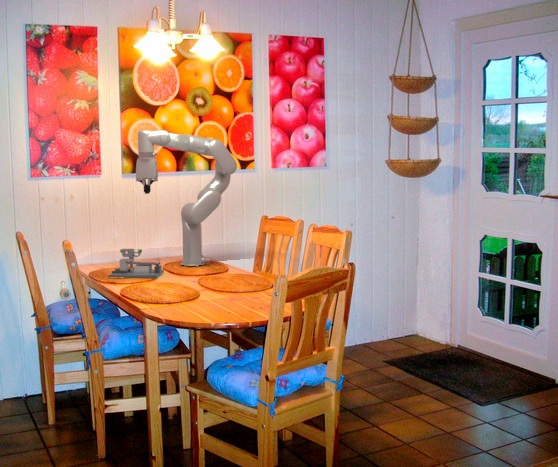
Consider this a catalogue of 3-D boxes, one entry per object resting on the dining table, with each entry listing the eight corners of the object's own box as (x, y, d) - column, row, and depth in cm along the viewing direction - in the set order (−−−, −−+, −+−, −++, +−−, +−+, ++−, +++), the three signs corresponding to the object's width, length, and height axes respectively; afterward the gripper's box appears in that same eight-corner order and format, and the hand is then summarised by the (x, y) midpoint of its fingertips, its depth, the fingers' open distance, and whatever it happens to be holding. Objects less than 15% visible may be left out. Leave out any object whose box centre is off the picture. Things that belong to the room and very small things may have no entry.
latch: (133, 271, 324) (133, 258, 324) (131, 272, 320) (131, 259, 320) (122, 270, 325) (122, 258, 324) (120, 272, 321) (119, 259, 320)
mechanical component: (141, 269, 338) (140, 249, 337) (120, 269, 338) (119, 249, 337) (142, 268, 341) (142, 248, 340) (122, 268, 341) (121, 248, 340)
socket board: (164, 272, 330) (164, 263, 329) (156, 278, 314) (156, 268, 314) (118, 272, 331) (118, 262, 330) (108, 278, 315) (108, 268, 315)
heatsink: (152, 271, 326) (152, 263, 325) (148, 273, 319) (148, 266, 318) (137, 270, 326) (137, 263, 325) (133, 273, 319) (133, 266, 318)
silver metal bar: (160, 264, 323) (160, 261, 323) (158, 266, 320) (158, 262, 320) (129, 263, 324) (129, 260, 323) (127, 265, 321) (127, 261, 320)
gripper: (163, 155, 339) (163, 193, 341) (133, 155, 340) (134, 193, 342) (159, 155, 332) (160, 194, 334) (129, 156, 332) (130, 194, 334)
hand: (147, 193), depth 338 cm, fingers closed
